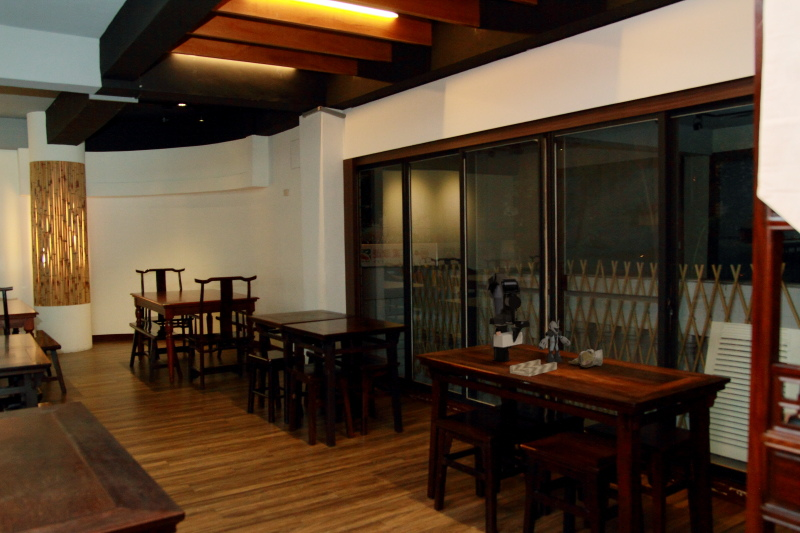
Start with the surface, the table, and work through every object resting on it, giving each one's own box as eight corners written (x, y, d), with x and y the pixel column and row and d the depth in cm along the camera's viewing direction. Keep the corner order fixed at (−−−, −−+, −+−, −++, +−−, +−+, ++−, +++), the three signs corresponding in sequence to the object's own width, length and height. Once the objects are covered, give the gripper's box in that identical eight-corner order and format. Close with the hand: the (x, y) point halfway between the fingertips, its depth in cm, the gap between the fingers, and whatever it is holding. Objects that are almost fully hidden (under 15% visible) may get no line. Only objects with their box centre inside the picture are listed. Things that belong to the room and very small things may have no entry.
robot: (565, 358, 302) (565, 316, 301) (573, 360, 298) (573, 317, 297) (535, 363, 291) (534, 320, 291) (542, 365, 287) (542, 321, 286)
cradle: (529, 376, 265) (529, 369, 265) (509, 373, 272) (509, 366, 272) (556, 369, 278) (556, 362, 278) (537, 366, 286) (537, 359, 286)
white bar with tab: (501, 347, 276) (501, 332, 276) (492, 346, 280) (492, 331, 280) (525, 342, 288) (525, 328, 287) (516, 341, 291) (516, 327, 291)
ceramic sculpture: (609, 347, 280) (580, 352, 275) (610, 366, 281) (582, 372, 276) (594, 344, 290) (566, 348, 285) (595, 362, 291) (567, 367, 286)
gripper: (481, 306, 285) (481, 341, 285) (514, 309, 271) (514, 346, 272) (496, 304, 292) (497, 338, 293) (530, 307, 278) (530, 343, 279)
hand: (509, 341), depth 284 cm, fingers closed on white bar with tab, 5 cm apart
